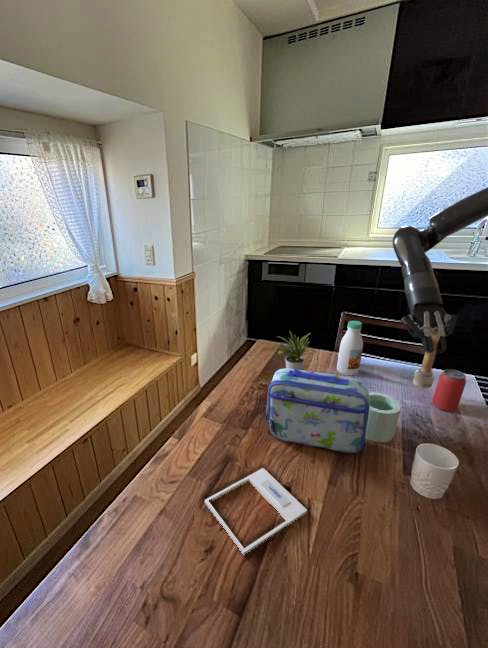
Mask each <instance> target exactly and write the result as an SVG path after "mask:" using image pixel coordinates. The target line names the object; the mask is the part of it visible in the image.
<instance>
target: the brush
mask: <svg viewBox="0 0 488 648" xmlns="http://www.w3.org/2000/svg"><path fill="white" fill-rule="evenodd" d="M429 337H431V339H432V344H433V348H434V351H433V352H431V353H427V352H426V351H425V353H424V355H423V360H422V363H421V367H420V368H418V369H417V370H415V371H414V375H413V380H412V383H413V384H414V385H416V386H417V387H420V388H426V389H429V388H431V387H432V386H433V383H434V379H435V374H434V373H433V371H432V368H433V364H434V361H435V357H436V353H437V346H438V343H439V339H440V334H439V333H435V332H432V331H431V332H430V336H429Z"/></svg>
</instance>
